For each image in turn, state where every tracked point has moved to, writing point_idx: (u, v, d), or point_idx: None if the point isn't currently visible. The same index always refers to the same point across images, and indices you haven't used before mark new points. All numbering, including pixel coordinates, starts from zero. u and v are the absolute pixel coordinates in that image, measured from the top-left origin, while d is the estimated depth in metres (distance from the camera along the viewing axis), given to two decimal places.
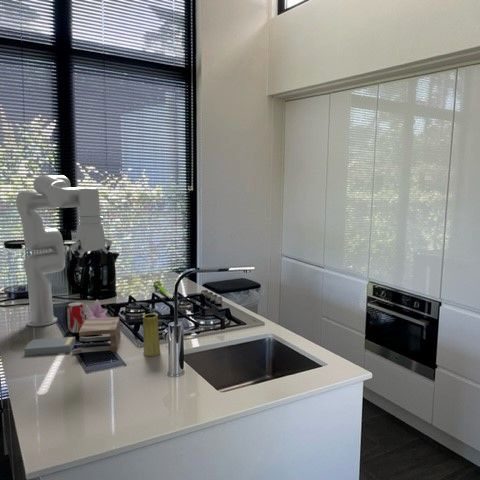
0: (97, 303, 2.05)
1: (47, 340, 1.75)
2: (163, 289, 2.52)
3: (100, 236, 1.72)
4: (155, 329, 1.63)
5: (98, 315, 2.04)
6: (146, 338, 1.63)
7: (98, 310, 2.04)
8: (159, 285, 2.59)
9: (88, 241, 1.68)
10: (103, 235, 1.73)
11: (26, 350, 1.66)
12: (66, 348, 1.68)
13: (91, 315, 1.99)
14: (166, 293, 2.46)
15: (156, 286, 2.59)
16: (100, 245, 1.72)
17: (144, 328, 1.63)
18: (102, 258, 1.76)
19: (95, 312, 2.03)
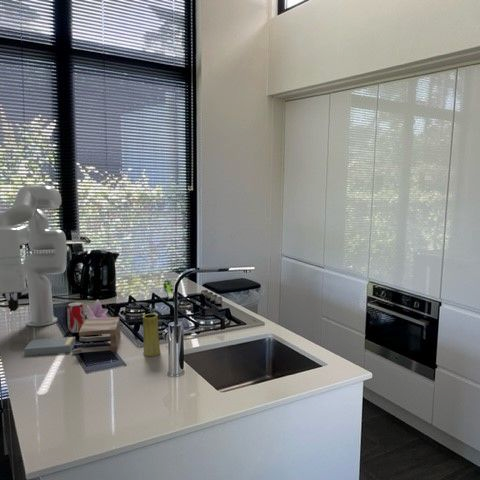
0: (97, 303, 2.05)
1: (47, 340, 1.75)
2: (168, 288, 2.54)
3: None
4: (155, 329, 1.63)
5: (99, 315, 2.04)
6: (146, 338, 1.63)
7: (99, 310, 2.04)
8: (168, 284, 2.61)
9: None
10: None
11: (26, 350, 1.66)
12: (66, 348, 1.68)
13: (91, 315, 1.99)
14: (168, 293, 2.47)
15: (165, 285, 2.61)
16: None
17: (144, 328, 1.63)
18: None
19: (96, 312, 2.03)
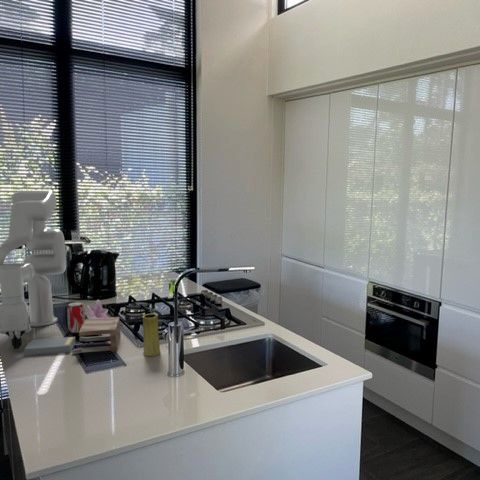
0: (98, 303, 2.05)
1: (47, 340, 1.75)
2: (171, 288, 2.54)
3: None
4: (155, 329, 1.63)
5: (99, 315, 2.04)
6: (146, 338, 1.63)
7: (99, 310, 2.04)
8: (172, 284, 2.61)
9: None
10: None
11: (26, 350, 1.66)
12: (66, 348, 1.68)
13: (92, 315, 1.99)
14: (169, 293, 2.47)
15: (169, 285, 2.62)
16: None
17: (144, 328, 1.63)
18: None
19: (96, 312, 2.03)
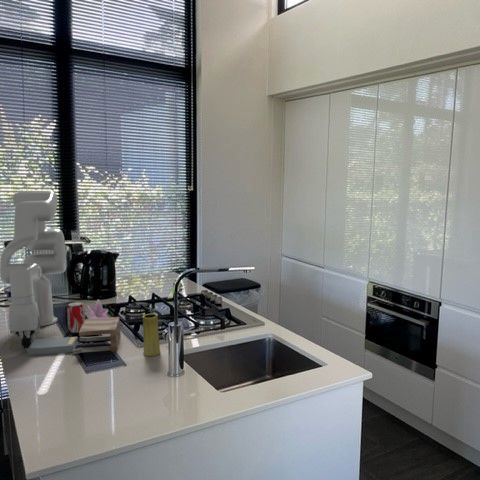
0: (98, 303, 2.05)
1: (50, 340, 1.75)
2: (173, 288, 2.54)
3: None
4: (155, 329, 1.63)
5: (100, 315, 2.04)
6: (146, 338, 1.63)
7: (99, 310, 2.04)
8: None
9: None
10: None
11: (29, 350, 1.66)
12: (69, 348, 1.69)
13: (92, 315, 1.99)
14: (170, 293, 2.47)
15: (173, 284, 2.62)
16: None
17: (144, 328, 1.63)
18: None
19: (96, 312, 2.03)
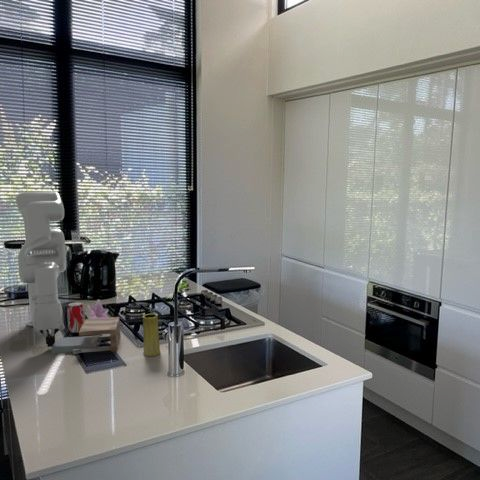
0: (98, 303, 2.05)
1: (73, 338, 1.76)
2: None
3: None
4: (155, 329, 1.63)
5: (100, 315, 2.04)
6: (146, 338, 1.63)
7: (100, 310, 2.04)
8: (181, 284, 2.61)
9: None
10: None
11: (53, 348, 1.67)
12: (92, 346, 1.70)
13: (92, 315, 1.99)
14: None
15: None
16: None
17: (144, 328, 1.63)
18: None
19: (97, 312, 2.03)
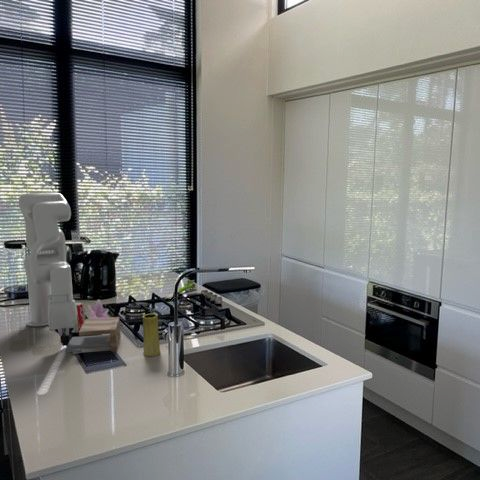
0: (98, 303, 2.05)
1: (87, 337, 1.77)
2: (180, 288, 2.53)
3: None
4: (155, 329, 1.63)
5: (100, 315, 2.04)
6: (146, 338, 1.63)
7: (100, 310, 2.04)
8: (186, 284, 2.60)
9: None
10: None
11: (68, 347, 1.68)
12: (107, 345, 1.70)
13: (93, 315, 1.99)
14: None
15: None
16: None
17: (144, 328, 1.63)
18: None
19: (97, 312, 2.03)
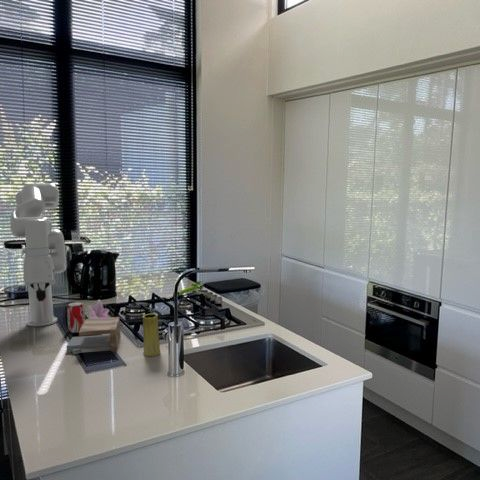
0: (99, 302, 2.05)
1: (87, 337, 1.77)
2: (184, 289, 2.52)
3: None
4: (155, 329, 1.63)
5: (100, 315, 2.04)
6: (146, 338, 1.63)
7: (100, 310, 2.04)
8: (193, 285, 2.58)
9: None
10: None
11: (68, 347, 1.68)
12: (107, 345, 1.70)
13: (93, 315, 1.99)
14: None
15: (192, 285, 2.59)
16: None
17: (144, 328, 1.63)
18: None
19: (97, 312, 2.03)
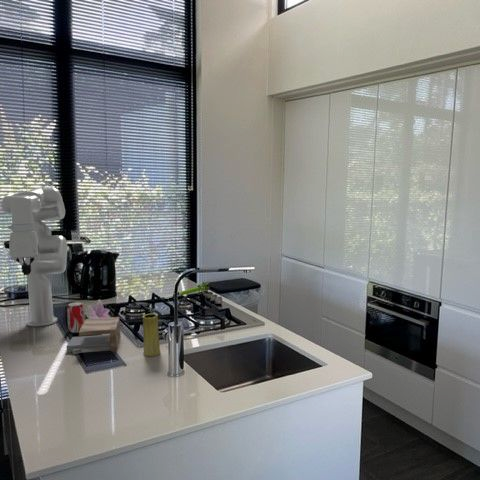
0: (99, 302, 2.05)
1: (87, 337, 1.77)
2: None
3: None
4: (155, 329, 1.63)
5: (101, 315, 2.04)
6: (146, 338, 1.63)
7: (100, 310, 2.04)
8: (198, 286, 2.55)
9: None
10: None
11: (68, 347, 1.68)
12: (107, 345, 1.70)
13: (94, 314, 1.99)
14: None
15: None
16: None
17: (144, 328, 1.63)
18: None
19: (98, 312, 2.03)
